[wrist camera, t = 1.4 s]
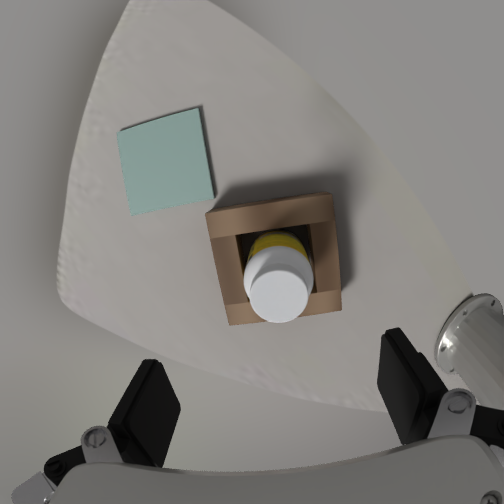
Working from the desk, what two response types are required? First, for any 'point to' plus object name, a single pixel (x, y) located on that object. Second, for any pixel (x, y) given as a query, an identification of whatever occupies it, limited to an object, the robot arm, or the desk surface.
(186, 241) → the desk surface
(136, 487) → the robot arm
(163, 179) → the coaster plate
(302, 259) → the supplement bottle
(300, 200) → the can holder
